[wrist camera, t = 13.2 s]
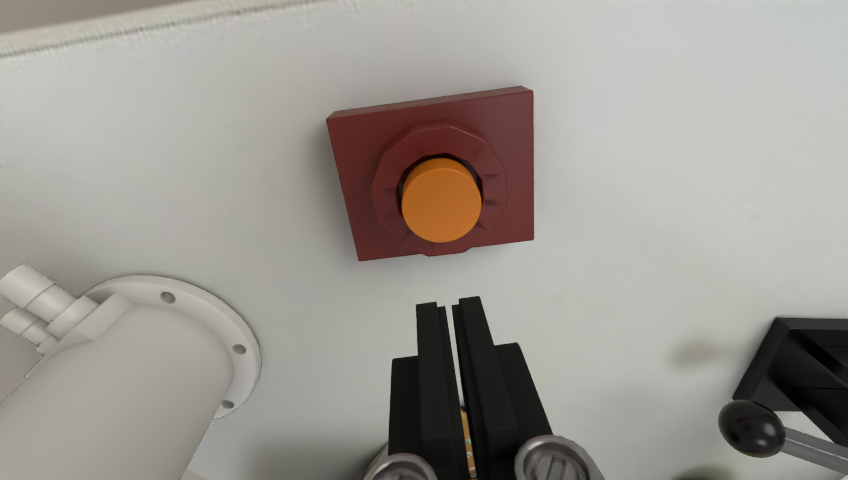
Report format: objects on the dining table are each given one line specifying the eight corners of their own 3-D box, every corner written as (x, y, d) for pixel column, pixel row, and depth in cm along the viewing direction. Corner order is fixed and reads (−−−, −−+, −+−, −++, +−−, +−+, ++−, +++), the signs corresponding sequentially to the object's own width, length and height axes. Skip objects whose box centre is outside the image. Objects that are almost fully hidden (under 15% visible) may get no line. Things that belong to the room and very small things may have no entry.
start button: (408, 231, 20) (407, 247, 19) (397, 162, 19) (395, 174, 17) (478, 222, 20) (483, 238, 19) (473, 153, 19) (479, 163, 17)
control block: (362, 244, 25) (354, 279, 21) (333, 111, 21) (317, 126, 18) (524, 224, 24) (543, 256, 21) (522, 85, 21) (545, 95, 17)
